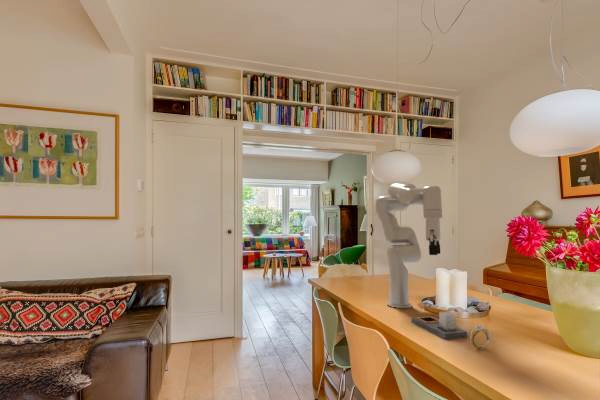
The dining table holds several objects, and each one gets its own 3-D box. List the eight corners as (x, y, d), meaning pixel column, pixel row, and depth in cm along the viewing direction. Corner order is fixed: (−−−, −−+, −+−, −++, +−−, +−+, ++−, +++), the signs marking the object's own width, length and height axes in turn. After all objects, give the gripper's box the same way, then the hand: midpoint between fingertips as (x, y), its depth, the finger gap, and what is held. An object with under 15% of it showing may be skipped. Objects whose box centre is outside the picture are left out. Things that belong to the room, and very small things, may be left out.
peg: (439, 332, 133) (439, 312, 134) (448, 332, 134) (447, 311, 134) (446, 336, 129) (445, 315, 130) (455, 335, 130) (454, 314, 131)
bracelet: (487, 347, 118) (486, 323, 119) (493, 350, 115) (492, 326, 115) (468, 347, 118) (467, 324, 118) (473, 351, 115) (472, 327, 115)
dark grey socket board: (411, 322, 147) (411, 316, 147) (431, 320, 149) (431, 315, 149) (444, 339, 126) (444, 333, 126) (467, 337, 128) (467, 331, 128)
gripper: (426, 215, 155) (428, 253, 153) (420, 213, 140) (422, 255, 138) (444, 215, 151) (446, 253, 149) (439, 213, 136) (442, 255, 134)
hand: (435, 254), depth 144 cm, fingers open, 9 cm apart
